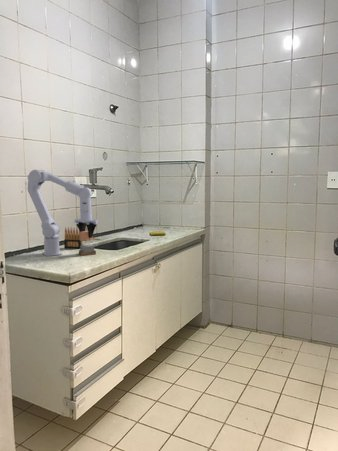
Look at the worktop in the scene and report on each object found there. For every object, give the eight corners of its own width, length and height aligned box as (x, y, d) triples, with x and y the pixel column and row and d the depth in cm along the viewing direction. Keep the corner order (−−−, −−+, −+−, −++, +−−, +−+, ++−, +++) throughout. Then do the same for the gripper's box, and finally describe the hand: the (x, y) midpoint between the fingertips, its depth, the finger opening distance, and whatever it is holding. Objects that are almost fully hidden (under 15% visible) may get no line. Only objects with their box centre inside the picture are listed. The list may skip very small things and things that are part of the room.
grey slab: (80, 250, 197) (80, 245, 196) (90, 249, 200) (90, 244, 199) (84, 252, 192) (83, 247, 192) (94, 250, 195) (94, 245, 195)
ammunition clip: (64, 248, 213) (63, 227, 212) (66, 247, 215) (65, 226, 213) (81, 249, 210) (80, 227, 209) (82, 248, 212) (82, 227, 210)
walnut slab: (78, 254, 198) (78, 250, 198) (91, 253, 201) (91, 248, 201) (82, 257, 192) (82, 252, 191) (96, 255, 195) (95, 250, 195)
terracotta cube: (80, 240, 194) (80, 231, 194) (86, 239, 198) (86, 230, 198) (87, 241, 192) (86, 232, 191) (93, 239, 196) (92, 231, 195)
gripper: (69, 211, 194) (71, 237, 195) (91, 212, 186) (92, 239, 188) (79, 210, 200) (80, 235, 201) (100, 211, 192) (101, 237, 194)
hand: (87, 237), depth 195 cm, fingers closed on terracotta cube, 4 cm apart
